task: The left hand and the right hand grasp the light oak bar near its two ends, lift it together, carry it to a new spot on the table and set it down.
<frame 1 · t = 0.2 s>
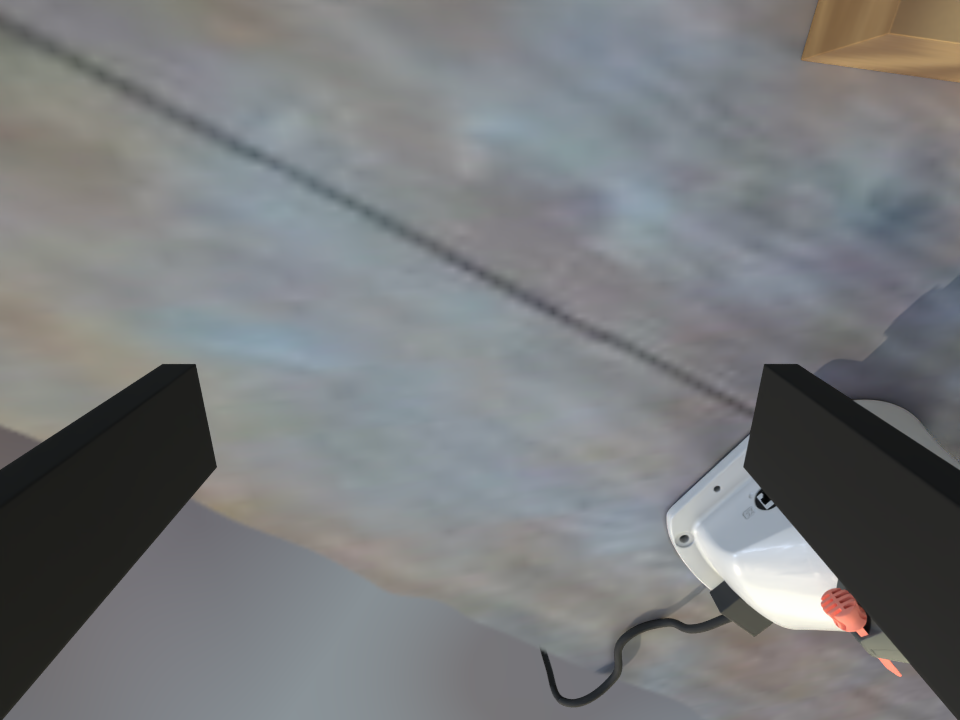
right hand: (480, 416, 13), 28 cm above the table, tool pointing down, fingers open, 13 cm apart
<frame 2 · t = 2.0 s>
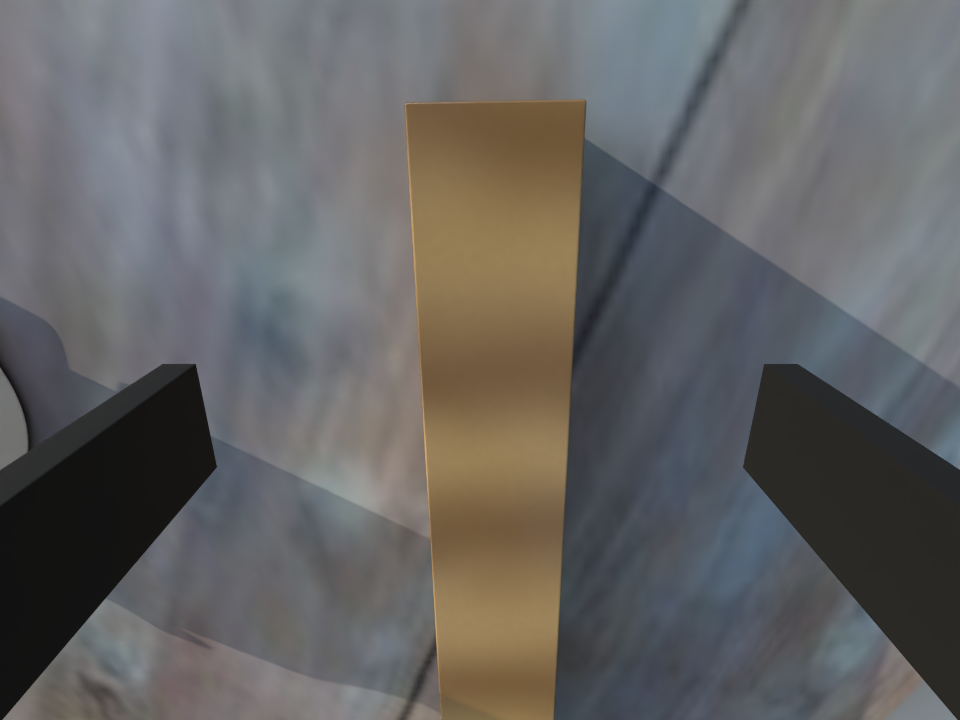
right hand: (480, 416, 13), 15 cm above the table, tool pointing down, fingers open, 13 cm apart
bar: (493, 570, 33), on the table
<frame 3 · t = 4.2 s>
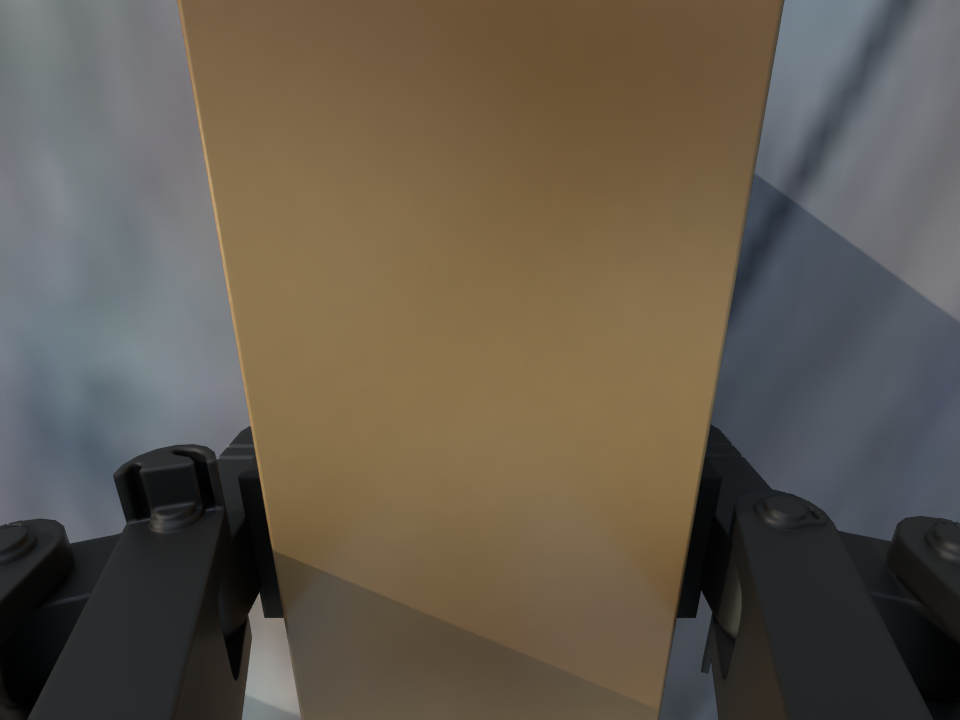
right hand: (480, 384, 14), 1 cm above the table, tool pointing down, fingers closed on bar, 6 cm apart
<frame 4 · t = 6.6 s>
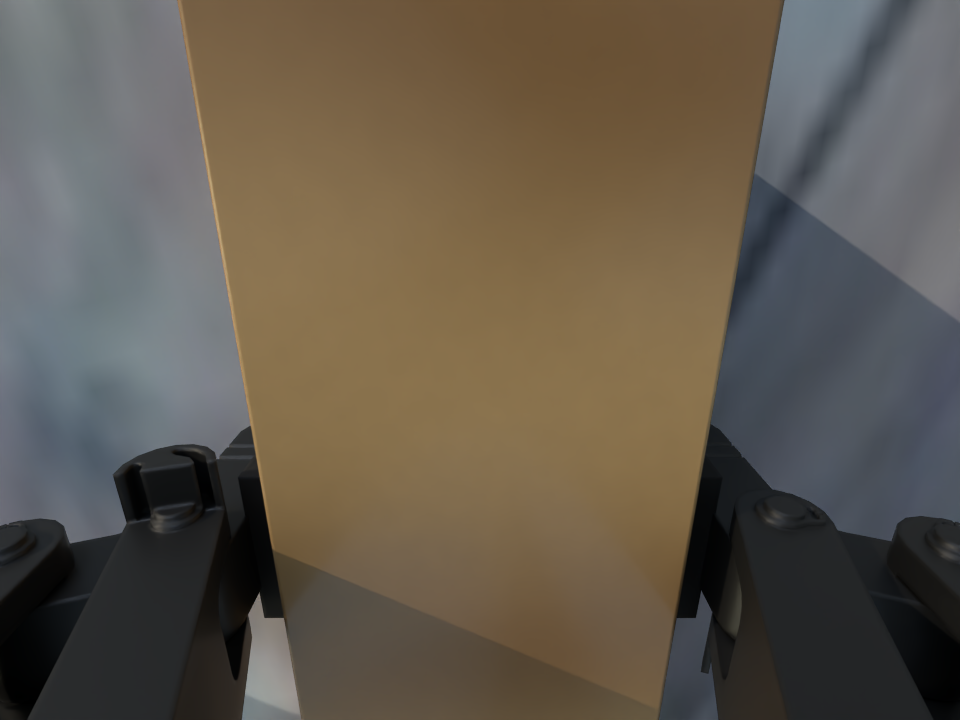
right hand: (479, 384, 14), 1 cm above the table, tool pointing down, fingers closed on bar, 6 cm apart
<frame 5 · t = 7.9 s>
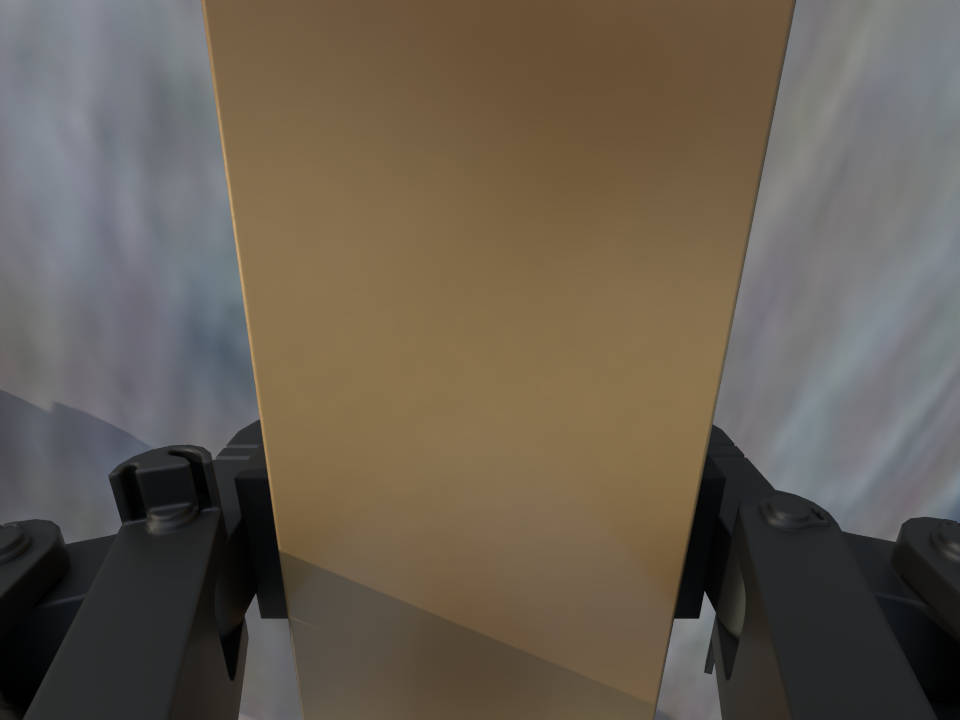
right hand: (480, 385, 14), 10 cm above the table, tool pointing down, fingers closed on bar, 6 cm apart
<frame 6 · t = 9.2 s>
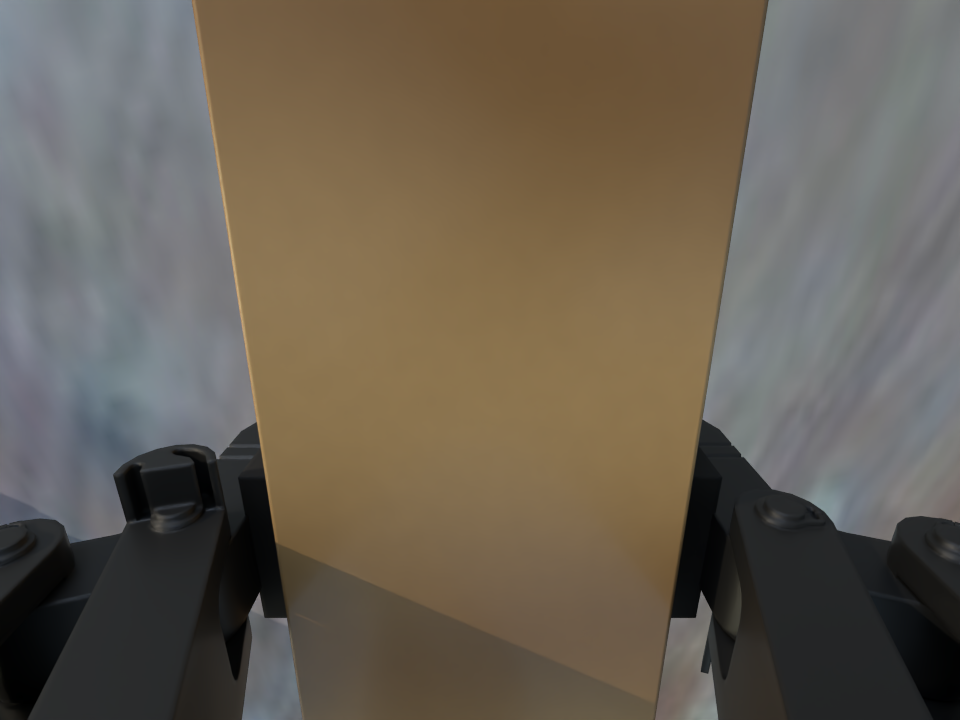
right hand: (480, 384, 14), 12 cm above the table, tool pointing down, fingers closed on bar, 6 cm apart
when the right hand's fingers open (2 cm above the table, at t = 11.8 s): bar stays where it is, on the table.
when the left hand's fingers open (4 cm above the table, at t = 12.0 s): bar stays where it is, on the table.
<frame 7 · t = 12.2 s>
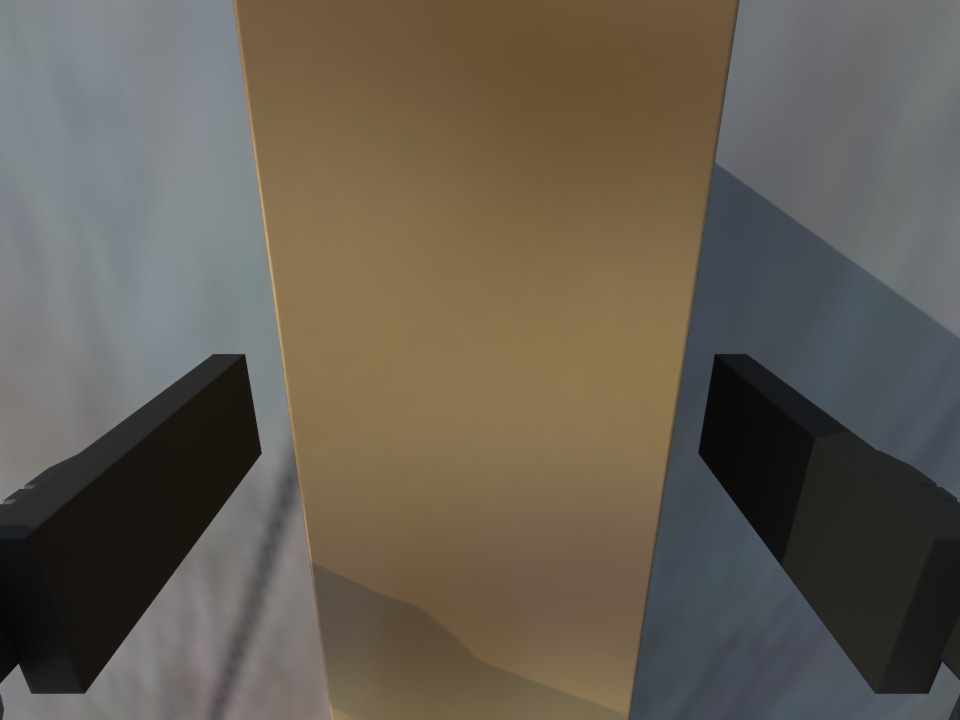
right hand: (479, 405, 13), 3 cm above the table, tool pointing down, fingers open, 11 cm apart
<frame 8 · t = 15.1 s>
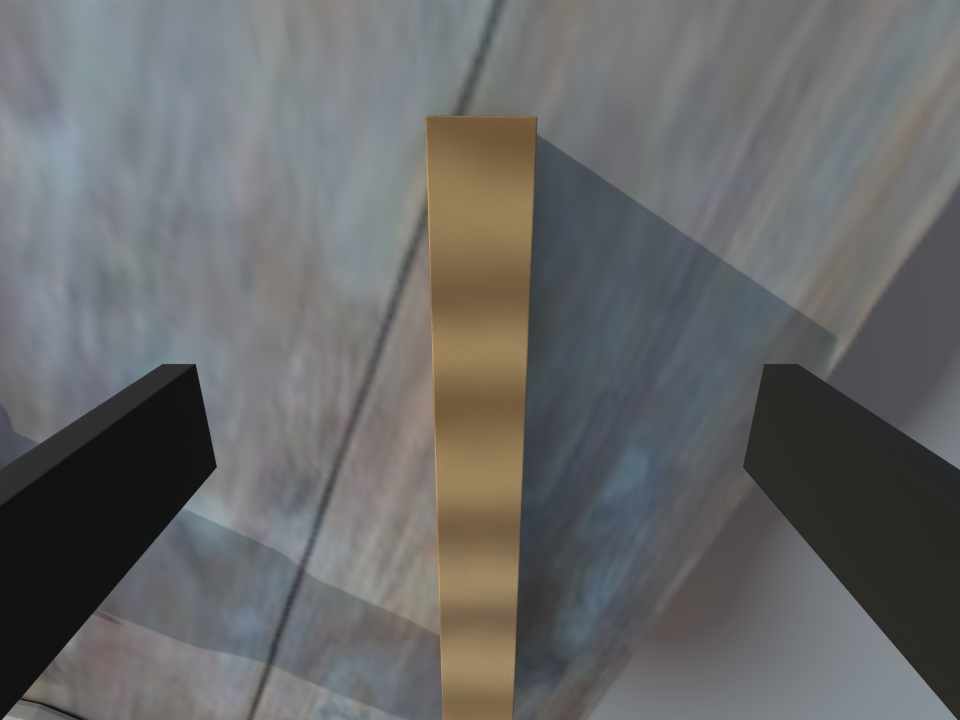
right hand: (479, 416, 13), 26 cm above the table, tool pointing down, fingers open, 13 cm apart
bar: (479, 468, 43), on the table
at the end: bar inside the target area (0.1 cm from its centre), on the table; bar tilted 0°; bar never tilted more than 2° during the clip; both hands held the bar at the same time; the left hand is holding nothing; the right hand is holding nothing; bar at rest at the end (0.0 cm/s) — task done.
